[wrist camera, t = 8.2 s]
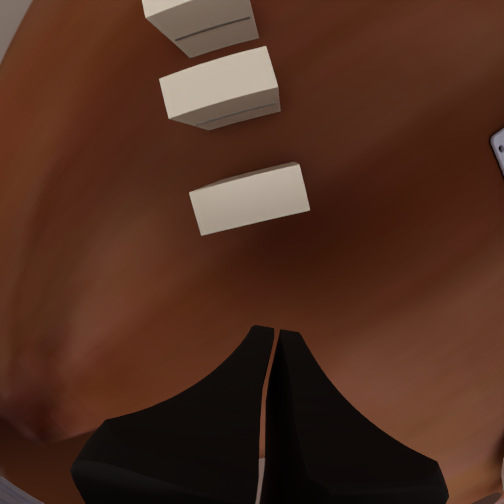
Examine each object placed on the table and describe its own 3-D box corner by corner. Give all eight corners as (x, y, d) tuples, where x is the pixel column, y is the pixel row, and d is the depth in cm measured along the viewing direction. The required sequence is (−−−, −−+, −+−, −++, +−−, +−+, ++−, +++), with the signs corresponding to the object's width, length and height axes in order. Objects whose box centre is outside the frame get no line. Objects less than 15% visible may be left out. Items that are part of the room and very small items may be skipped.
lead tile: (301, 192, 19) (310, 212, 12) (230, 209, 20) (202, 237, 13) (294, 161, 18) (299, 164, 12) (222, 179, 19) (188, 192, 12)
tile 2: (281, 112, 18) (278, 88, 11) (209, 131, 18) (169, 120, 12) (273, 83, 17) (265, 46, 11) (201, 103, 18) (159, 79, 11)
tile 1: (259, 39, 16) (246, -14, 10) (190, 59, 17) (145, 19, 10) (251, 15, 16) (235, -43, 9) (184, 35, 17) (139, -11, 10)
